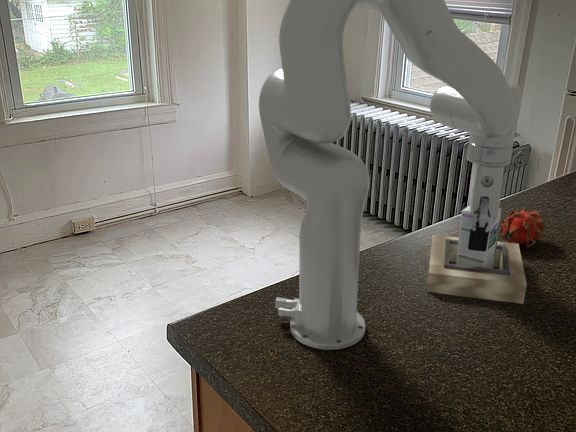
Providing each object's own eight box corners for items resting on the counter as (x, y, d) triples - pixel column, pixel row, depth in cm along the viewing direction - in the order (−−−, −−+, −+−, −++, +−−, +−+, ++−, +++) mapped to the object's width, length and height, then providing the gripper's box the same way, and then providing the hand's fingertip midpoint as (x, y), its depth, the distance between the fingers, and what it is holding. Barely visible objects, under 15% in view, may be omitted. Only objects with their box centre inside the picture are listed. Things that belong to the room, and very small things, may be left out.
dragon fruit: (539, 243, 133) (506, 265, 127) (513, 214, 135) (480, 234, 130) (563, 224, 126) (529, 246, 120) (535, 193, 128) (501, 214, 123)
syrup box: (482, 286, 112) (492, 216, 106) (453, 277, 115) (461, 209, 110) (493, 275, 116) (503, 206, 111) (464, 266, 120) (472, 199, 114)
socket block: (426, 291, 111) (428, 269, 109) (430, 251, 126) (432, 232, 124) (523, 303, 107) (527, 281, 105) (515, 261, 122) (518, 240, 120)
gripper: (515, 168, 97) (499, 261, 104) (507, 141, 113) (494, 224, 120) (468, 164, 99) (455, 256, 106) (467, 138, 115) (456, 220, 121)
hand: (476, 239), depth 113 cm, fingers open, 9 cm apart
